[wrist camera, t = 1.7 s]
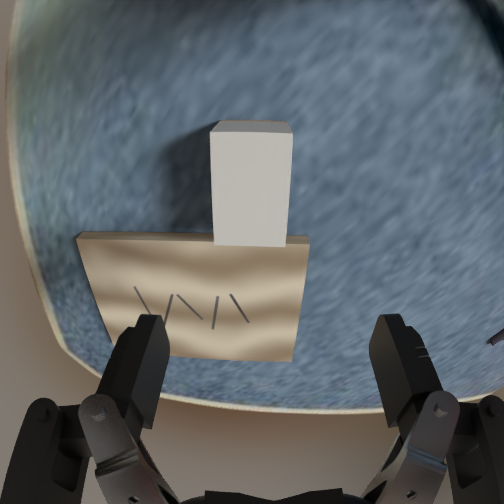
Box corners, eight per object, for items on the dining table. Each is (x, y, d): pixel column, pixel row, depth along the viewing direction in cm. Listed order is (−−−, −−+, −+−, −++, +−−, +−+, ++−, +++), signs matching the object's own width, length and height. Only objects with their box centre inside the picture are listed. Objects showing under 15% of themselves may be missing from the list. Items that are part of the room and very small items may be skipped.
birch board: (82, 231, 28) (75, 239, 26) (307, 235, 27) (309, 244, 26) (118, 340, 36) (115, 348, 35) (290, 351, 36) (291, 361, 35)
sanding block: (221, 119, 22) (209, 131, 18) (286, 121, 22) (293, 133, 17) (222, 212, 26) (214, 245, 22) (281, 213, 26) (285, 247, 22)
